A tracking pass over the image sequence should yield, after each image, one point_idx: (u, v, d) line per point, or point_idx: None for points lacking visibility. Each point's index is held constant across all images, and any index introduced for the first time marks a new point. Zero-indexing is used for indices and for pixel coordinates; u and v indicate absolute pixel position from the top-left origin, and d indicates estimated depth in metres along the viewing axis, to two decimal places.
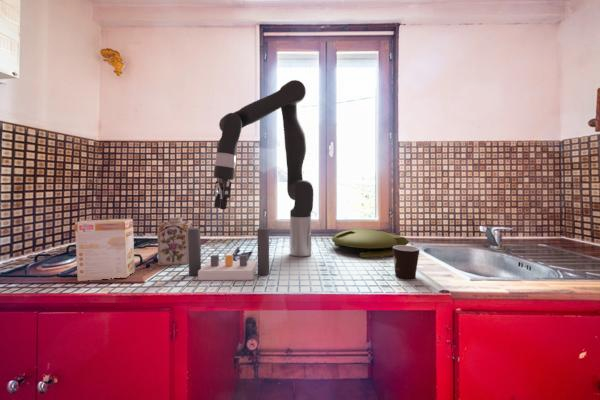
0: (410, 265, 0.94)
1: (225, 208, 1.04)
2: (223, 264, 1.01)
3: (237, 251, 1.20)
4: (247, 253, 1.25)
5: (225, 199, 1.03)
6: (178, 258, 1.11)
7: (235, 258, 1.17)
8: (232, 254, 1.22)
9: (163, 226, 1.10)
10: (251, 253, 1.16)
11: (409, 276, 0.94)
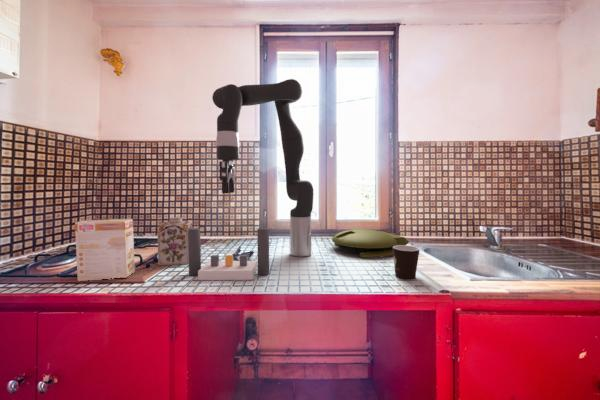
0: (410, 265, 0.94)
1: (227, 192, 0.94)
2: (223, 264, 1.01)
3: (238, 251, 1.20)
4: (247, 253, 1.26)
5: (225, 182, 0.93)
6: (178, 258, 1.11)
7: (237, 258, 1.17)
8: (233, 254, 1.22)
9: (163, 226, 1.10)
10: None
11: (409, 276, 0.94)
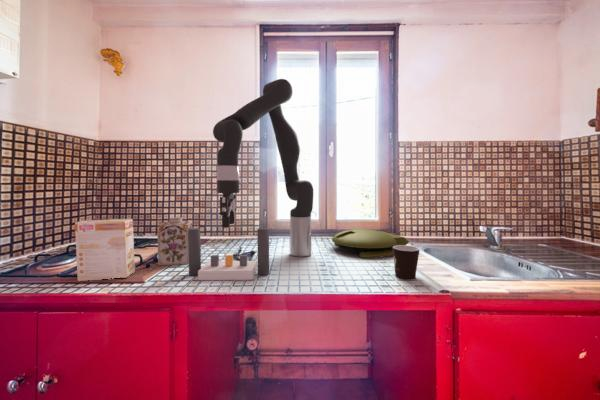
0: (410, 265, 0.94)
1: (228, 226, 0.94)
2: (223, 264, 1.01)
3: (239, 251, 1.20)
4: (248, 253, 1.26)
5: (225, 216, 0.93)
6: (178, 258, 1.11)
7: (239, 258, 1.17)
8: (234, 254, 1.22)
9: (163, 226, 1.10)
10: (255, 252, 1.17)
11: (409, 276, 0.94)
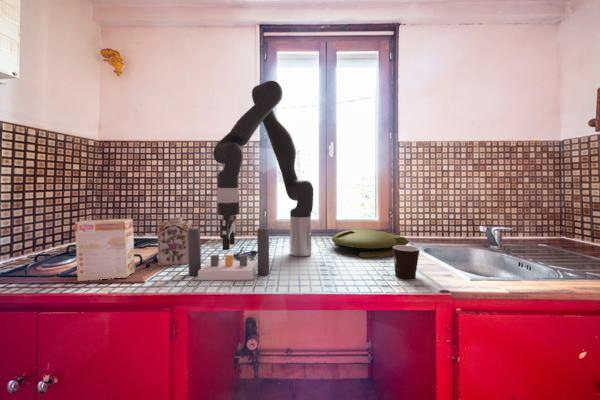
0: (410, 265, 0.94)
1: (228, 248, 0.95)
2: (223, 264, 1.01)
3: (241, 251, 1.20)
4: (248, 252, 1.26)
5: (225, 239, 0.94)
6: (178, 258, 1.11)
7: None
8: (235, 254, 1.22)
9: (163, 226, 1.10)
10: (257, 252, 1.18)
11: (409, 276, 0.94)
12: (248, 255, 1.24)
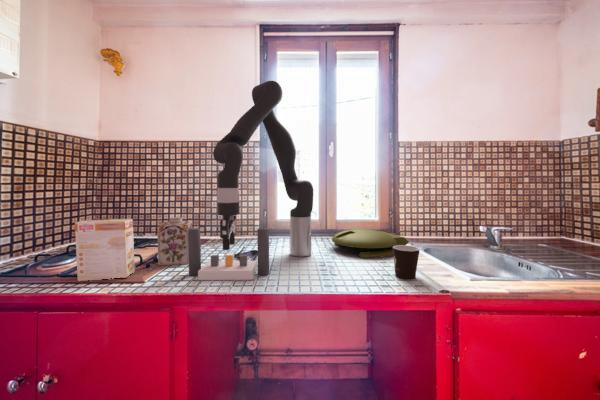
0: (410, 265, 0.94)
1: (228, 248, 0.95)
2: (223, 264, 1.01)
3: (242, 250, 1.21)
4: (248, 252, 1.27)
5: (225, 239, 0.94)
6: (178, 258, 1.11)
7: None
8: (235, 254, 1.22)
9: (163, 226, 1.10)
10: None
11: (409, 276, 0.94)
12: (249, 255, 1.24)
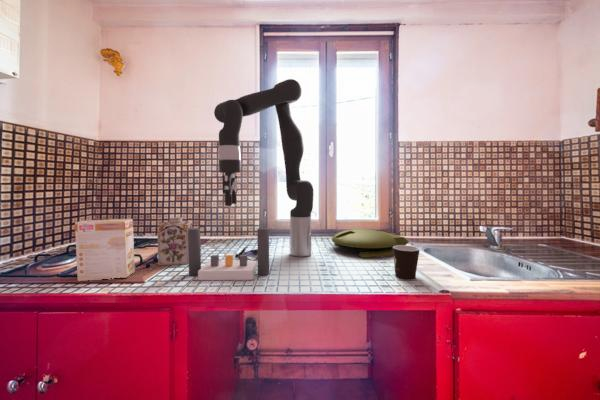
0: (410, 265, 0.94)
1: (230, 204, 0.97)
2: (223, 264, 1.01)
3: None
4: (248, 252, 1.28)
5: (228, 195, 0.96)
6: (178, 258, 1.11)
7: None
8: (237, 254, 1.22)
9: (163, 226, 1.10)
10: None
11: (409, 276, 0.94)
12: (250, 254, 1.25)
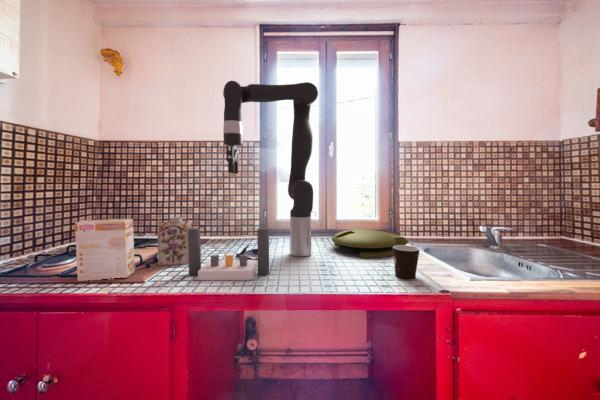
0: (410, 265, 0.94)
1: (233, 171, 1.12)
2: (223, 264, 1.01)
3: (245, 250, 1.22)
4: (248, 251, 1.28)
5: (231, 163, 1.11)
6: (178, 258, 1.11)
7: (247, 256, 1.19)
8: (238, 254, 1.22)
9: (163, 226, 1.10)
10: None
11: (409, 276, 0.94)
12: (250, 254, 1.26)
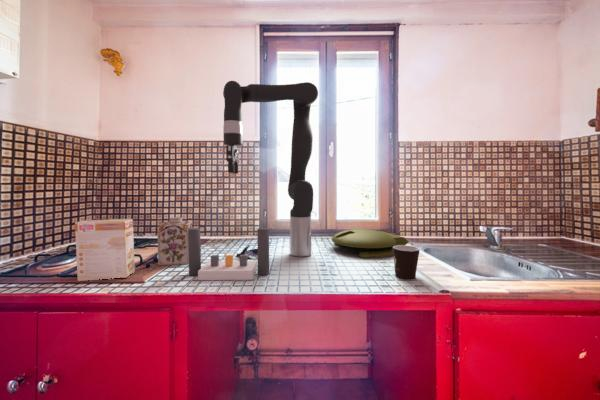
0: (410, 265, 0.94)
1: (233, 171, 1.12)
2: (223, 264, 1.01)
3: (246, 250, 1.22)
4: (248, 251, 1.28)
5: (231, 163, 1.11)
6: (178, 258, 1.11)
7: (248, 256, 1.20)
8: (239, 254, 1.22)
9: (163, 226, 1.10)
10: None
11: (409, 276, 0.94)
12: (250, 254, 1.26)
